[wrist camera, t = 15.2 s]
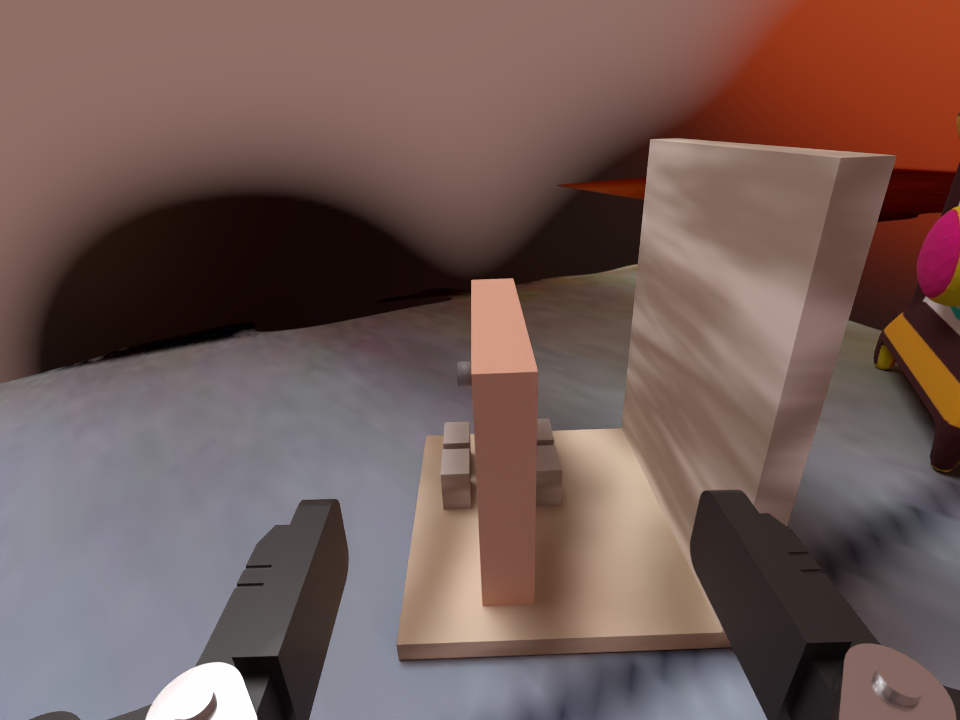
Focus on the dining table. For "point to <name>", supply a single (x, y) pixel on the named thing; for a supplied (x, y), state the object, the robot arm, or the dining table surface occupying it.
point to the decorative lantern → (933, 332)
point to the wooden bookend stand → (666, 411)
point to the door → (503, 441)
